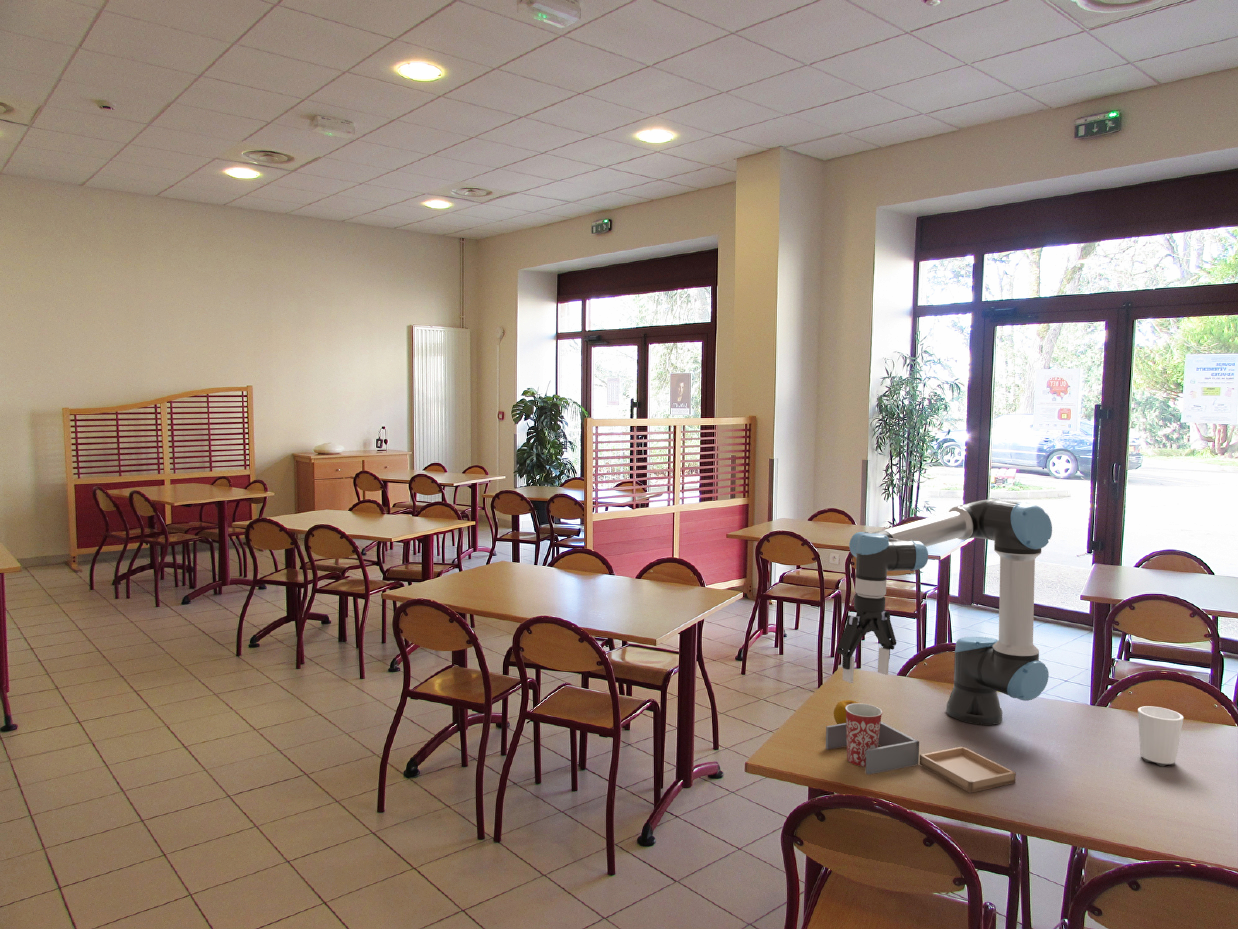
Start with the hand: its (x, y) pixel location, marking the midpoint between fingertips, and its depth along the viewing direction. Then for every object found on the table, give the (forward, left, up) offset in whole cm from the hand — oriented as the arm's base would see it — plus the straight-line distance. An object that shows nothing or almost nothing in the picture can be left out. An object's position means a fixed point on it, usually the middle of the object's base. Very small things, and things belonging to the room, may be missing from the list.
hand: (865, 677), depth 207 cm
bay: (-3, 0, -21) cm, 22 cm away
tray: (-18, +16, -21) cm, 33 cm away
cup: (-71, +29, -22) cm, 79 cm away
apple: (-8, -15, -22) cm, 28 cm away
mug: (0, 0, -22) cm, 22 cm away
